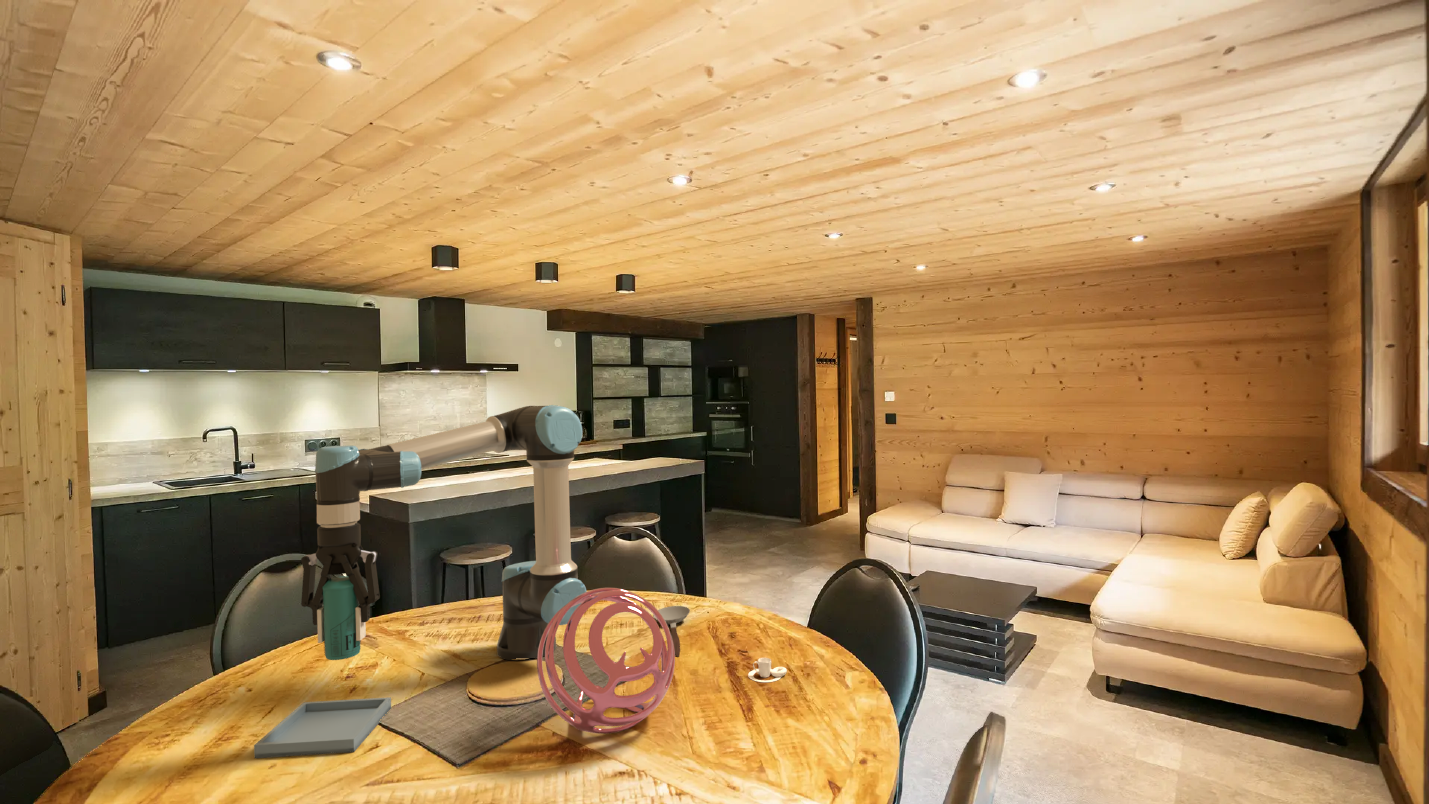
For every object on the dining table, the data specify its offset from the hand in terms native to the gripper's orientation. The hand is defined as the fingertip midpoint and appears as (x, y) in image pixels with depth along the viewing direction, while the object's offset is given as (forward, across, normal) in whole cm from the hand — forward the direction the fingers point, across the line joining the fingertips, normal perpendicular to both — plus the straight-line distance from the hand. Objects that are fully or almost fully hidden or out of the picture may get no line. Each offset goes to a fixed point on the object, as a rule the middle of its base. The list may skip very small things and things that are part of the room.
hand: (342, 639), depth 135 cm
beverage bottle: (+5, 0, 0) cm, 5 cm away
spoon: (+20, -68, -47) cm, 85 cm away
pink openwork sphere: (+20, -52, +3) cm, 56 cm away
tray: (+19, +4, -2) cm, 20 cm away
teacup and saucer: (+20, -89, -13) cm, 92 cm away
